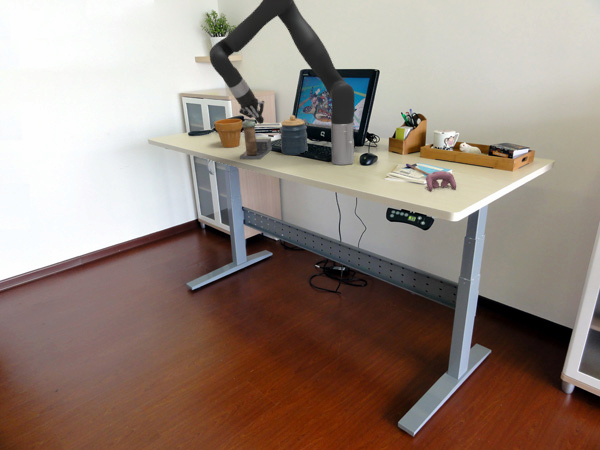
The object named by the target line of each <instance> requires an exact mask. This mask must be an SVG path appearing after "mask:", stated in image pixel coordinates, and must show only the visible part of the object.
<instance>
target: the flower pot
mask: <svg viewBox="0 0 600 450" xmlns="http://www.w3.org/2000/svg"><path fill="white" fill-rule="evenodd" d="M242 123H243V120H242V119H240V118H225V119H220V120H219V119H218V120H216V121H214V128H215V130H216V131H217V134H218V137H219V139H220V142H221V145H222V147H223V148H227V149H228V148H237V147H239V146H240V143H241V142H240V141H241V135H242V134H241V132H242V129H243V127H242Z"/></svg>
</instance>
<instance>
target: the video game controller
mask: <svg viewBox="0 0 600 450" xmlns="http://www.w3.org/2000/svg"><path fill="white" fill-rule="evenodd" d="M425 180H426V187H427V190H428V191H429V192H432V191H433V189H436V188H439V186H440V187H442V188H446V187H448V185H449V184H450V187H451V188H452V189H453V190H456V189H457V182H456V180H455V177H454V175H453V174H452V173H451V171H444V170H441V171H439V170H438V171H434V172H430V173H429V174H427V175H426V176H425ZM440 180H441V182H439V181H440Z"/></svg>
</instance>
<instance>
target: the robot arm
mask: <svg viewBox="0 0 600 450" xmlns="http://www.w3.org/2000/svg"><path fill="white" fill-rule="evenodd" d="M276 17H278V18H279V20H280V21H281V23H283V25H284V26H285V27H286V29H287V31H288V32H289V35H290V36H291V38H292V39H291V40H292V41H293V43H294V45H295V47H296V48H297V50H298V52H299V54H300V55H301V56H302V58H303V59H304V61H305V62H306V64H307V65H308V66H309V67H310V69H311V71H313V72H314V74H315V75H316V76H317V77H318V78H319V79H320V81H321V83H322V84H323V86H324V88H325V90H326V91H327V93H328V96H329V98H330V100H331V116H330V124H331V125H330V127H331V128H330V129H331V131H330V132H331V133H330V134H331V137H330V138H331V163H332V164H333V165H337V166H338V165H339V166H346V165H352V164H353V163H354V161H355V139H354V117H355V91H354V89H353V86H351V85H350V84H349V83H347V82H346V80H344V78H343V77H342V76H341V75H340V73H339V71H338V70H337V69H336V67H335V66H334V63H333V61H332V58H331V56H330V54H329V52H328V49H327V48H326V46H325V45H324V43H323V42H322V40H321V39H320V37H319V36H318V34H317V33H316V31H315V30H314V28H312V26H311V25H310V24H309V23H308V21H307V20H306V19H305V18H304V17H303V15H302V14H301V12H300V10H299V8H298V6H297V4H296V2H295V1H294V0H262V1H261V2H260V3H259V5H258V6H257V7H256V8H254V10H253V11H252V12H251V13H250V15H248V16H247V17H245V19H244V20H242V21H241V22H240V23H239V24H237V26H236V27H235V28H234V29H232V31H231V32H230V33H228V35H226V37H224V38H222V39H220V41H218V42H216V43H215V44H214V45H213V46H212V47H211V49H209V60H210V64H211V65H212V68H213V69H214V70H215V72H217V74H218V75H219V76H220V77H221V78H222V79H223V81H224V83H225V85H226V86H227V87H228V89H229V91H230V92H231V95H232V96H233V97H234V99H235V100H236V101H237V102H238V105H240V109H239V111H238V112H239V113H240V114H241V115H244V116H245V117H248V118H249V119H252V118H253V119H255V122H256V121H257V123H258V124H259V125H261V124H263V123H264V121H265V118H264V117H263V112H264V108H265V107H264V106H265V101H264V100H261V101H260V100H259V99H258V98H256V96H255V94H254V92H253V91H252V89H251V88H250V86H249V85H248V83H247V82H246V80H245V79H244V78H243V75H241V73H240V71H239V70H238V69H237V67H235V66H234V65H233V62H231V60H230V58H229V57H230V56H231V55H233V54H234V53H239V52H240V51H241V50H242V49H244V48H245V46H247V45H248V44H249V43H250V42H251V41H252V39H253V38H255V37H256V35H257V34H258V33H259V32H260V31H261V30H262V29H263V28H264V27H265V26H266V25H267V24H268V23H269V22H270V21H272V20H274V19H275V18H276Z"/></svg>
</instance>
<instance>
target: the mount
mask: <svg viewBox="0 0 600 450" xmlns="http://www.w3.org/2000/svg"><path fill="white" fill-rule="evenodd" d="M256 147H257V154H255V155H247V154H246V151H244V152H243V153H241V154H240V155H239V160H261V159H263V158H264V157H265V156H266V155H267V154H269V152H271V151H272V150H273V148H272V139H271V138H256Z"/></svg>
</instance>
